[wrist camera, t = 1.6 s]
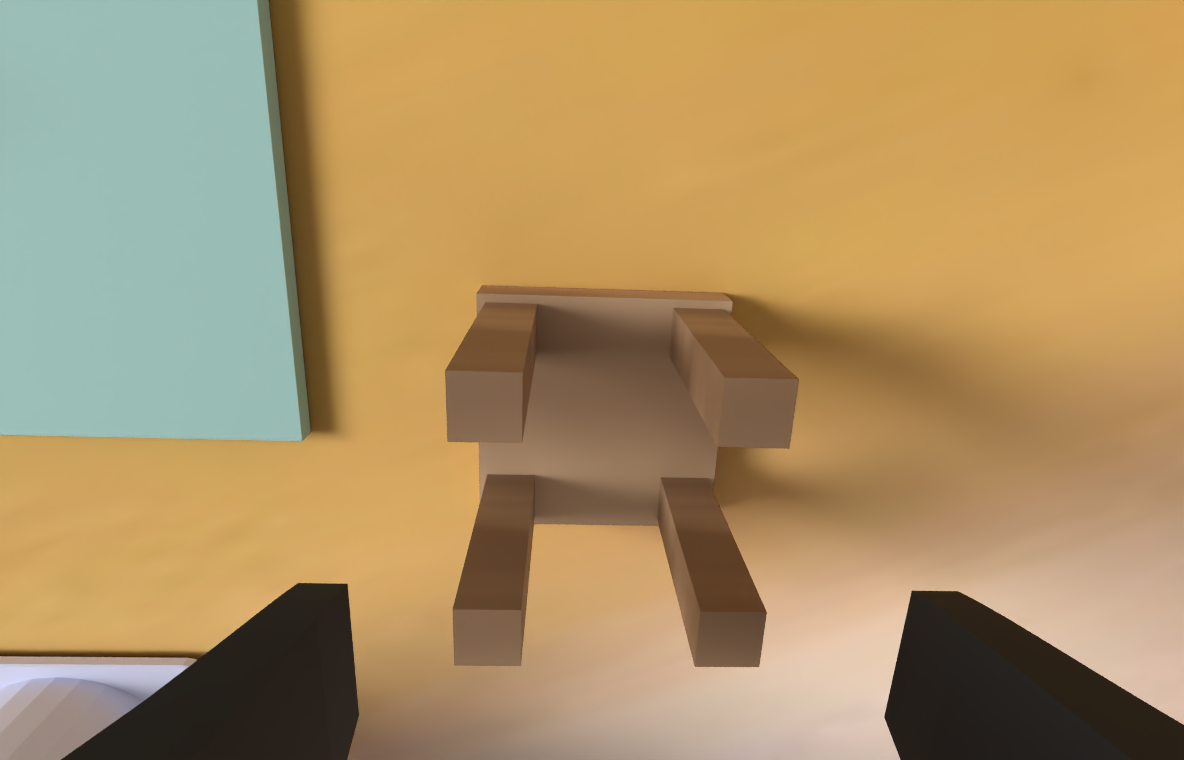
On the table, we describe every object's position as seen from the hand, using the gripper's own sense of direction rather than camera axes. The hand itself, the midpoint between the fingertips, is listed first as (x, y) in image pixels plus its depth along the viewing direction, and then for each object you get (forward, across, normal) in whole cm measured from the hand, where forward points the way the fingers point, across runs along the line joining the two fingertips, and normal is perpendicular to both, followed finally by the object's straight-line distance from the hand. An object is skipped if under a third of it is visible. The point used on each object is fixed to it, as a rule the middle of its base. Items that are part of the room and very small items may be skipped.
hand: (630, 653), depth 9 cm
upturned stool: (+10, 0, 0) cm, 10 cm away
